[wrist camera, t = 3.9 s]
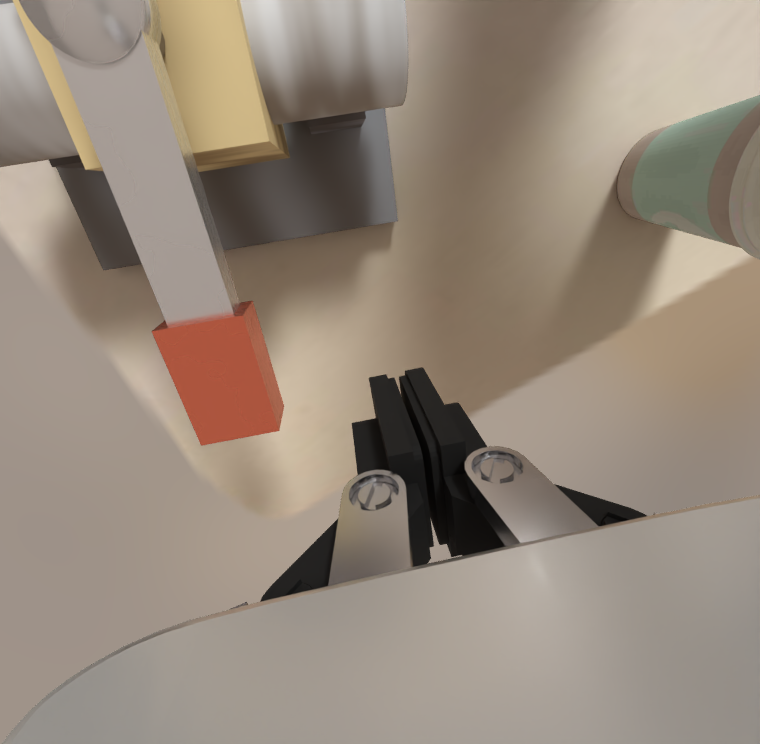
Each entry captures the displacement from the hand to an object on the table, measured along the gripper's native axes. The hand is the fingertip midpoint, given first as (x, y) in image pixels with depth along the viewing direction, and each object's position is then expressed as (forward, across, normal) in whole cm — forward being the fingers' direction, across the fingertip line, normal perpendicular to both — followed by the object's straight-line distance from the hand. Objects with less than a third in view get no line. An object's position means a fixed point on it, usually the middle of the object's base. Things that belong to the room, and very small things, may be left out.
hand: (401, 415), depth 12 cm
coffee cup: (+18, -22, -4) cm, 29 cm away
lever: (+6, +6, -6) cm, 10 cm away
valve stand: (+18, +6, -12) cm, 23 cm away
